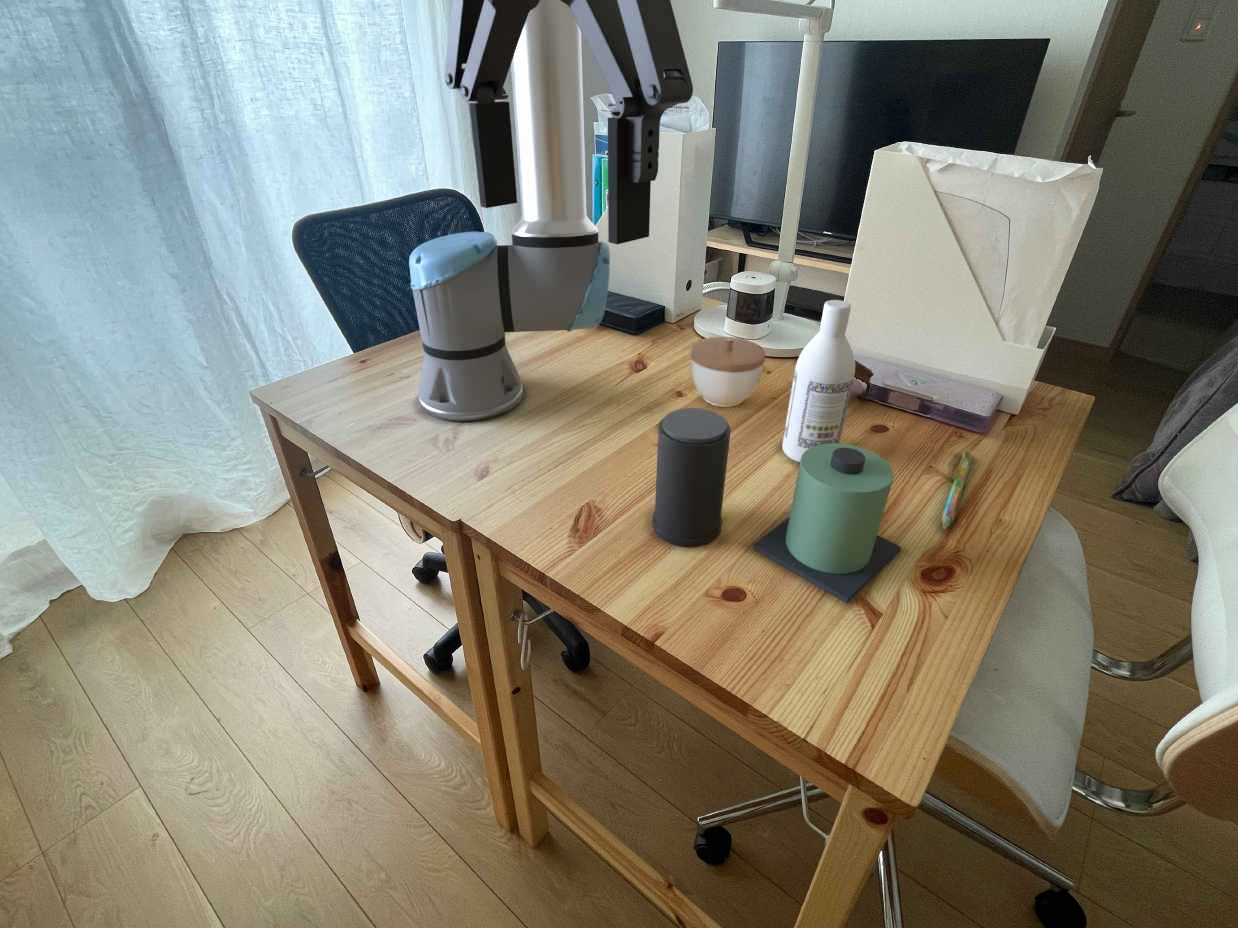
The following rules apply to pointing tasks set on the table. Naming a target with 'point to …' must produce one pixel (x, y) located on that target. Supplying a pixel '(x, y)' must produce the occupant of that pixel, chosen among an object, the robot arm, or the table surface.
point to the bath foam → (821, 385)
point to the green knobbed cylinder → (838, 507)
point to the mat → (832, 583)
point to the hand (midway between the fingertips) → (557, 221)
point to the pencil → (956, 489)
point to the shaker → (690, 476)
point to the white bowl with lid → (726, 369)
